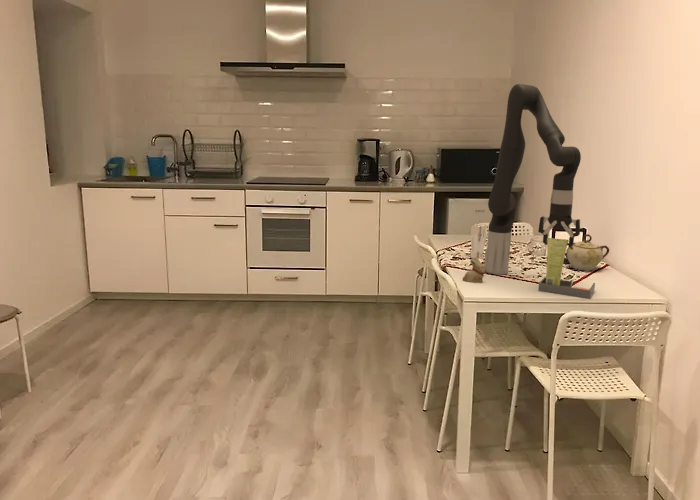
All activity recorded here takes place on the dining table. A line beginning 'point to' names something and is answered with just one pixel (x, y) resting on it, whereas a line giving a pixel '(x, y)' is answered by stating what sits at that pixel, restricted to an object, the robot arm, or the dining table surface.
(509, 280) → the dining table surface
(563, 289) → the channel
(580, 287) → the pad
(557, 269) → the tube
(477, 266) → the chocolate bunny
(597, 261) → the sugar bowl
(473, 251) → the beer glass
